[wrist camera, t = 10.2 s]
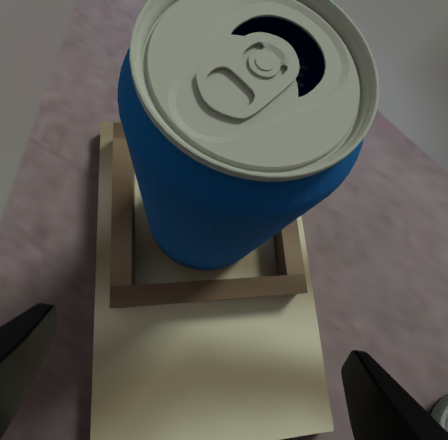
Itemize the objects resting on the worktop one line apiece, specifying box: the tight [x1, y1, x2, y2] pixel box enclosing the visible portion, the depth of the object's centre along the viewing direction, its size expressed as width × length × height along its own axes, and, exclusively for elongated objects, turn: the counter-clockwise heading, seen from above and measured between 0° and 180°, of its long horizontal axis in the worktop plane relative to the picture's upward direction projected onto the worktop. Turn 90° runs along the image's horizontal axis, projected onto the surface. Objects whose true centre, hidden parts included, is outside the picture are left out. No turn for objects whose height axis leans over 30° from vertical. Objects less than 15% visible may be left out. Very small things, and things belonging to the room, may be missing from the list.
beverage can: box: [118, 0, 379, 270], centre depth 12 cm, size 6×6×12 cm
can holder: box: [90, 122, 334, 440], centre depth 17 cm, size 18×12×2 cm, turn 5°
